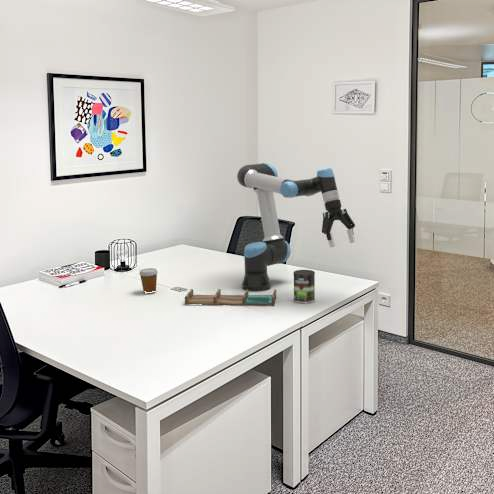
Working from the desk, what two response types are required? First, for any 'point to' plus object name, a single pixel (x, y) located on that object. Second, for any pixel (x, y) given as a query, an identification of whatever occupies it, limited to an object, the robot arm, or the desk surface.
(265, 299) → the slot rack
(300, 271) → the coffee can
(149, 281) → the disposable coffee cup
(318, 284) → the desk surface
